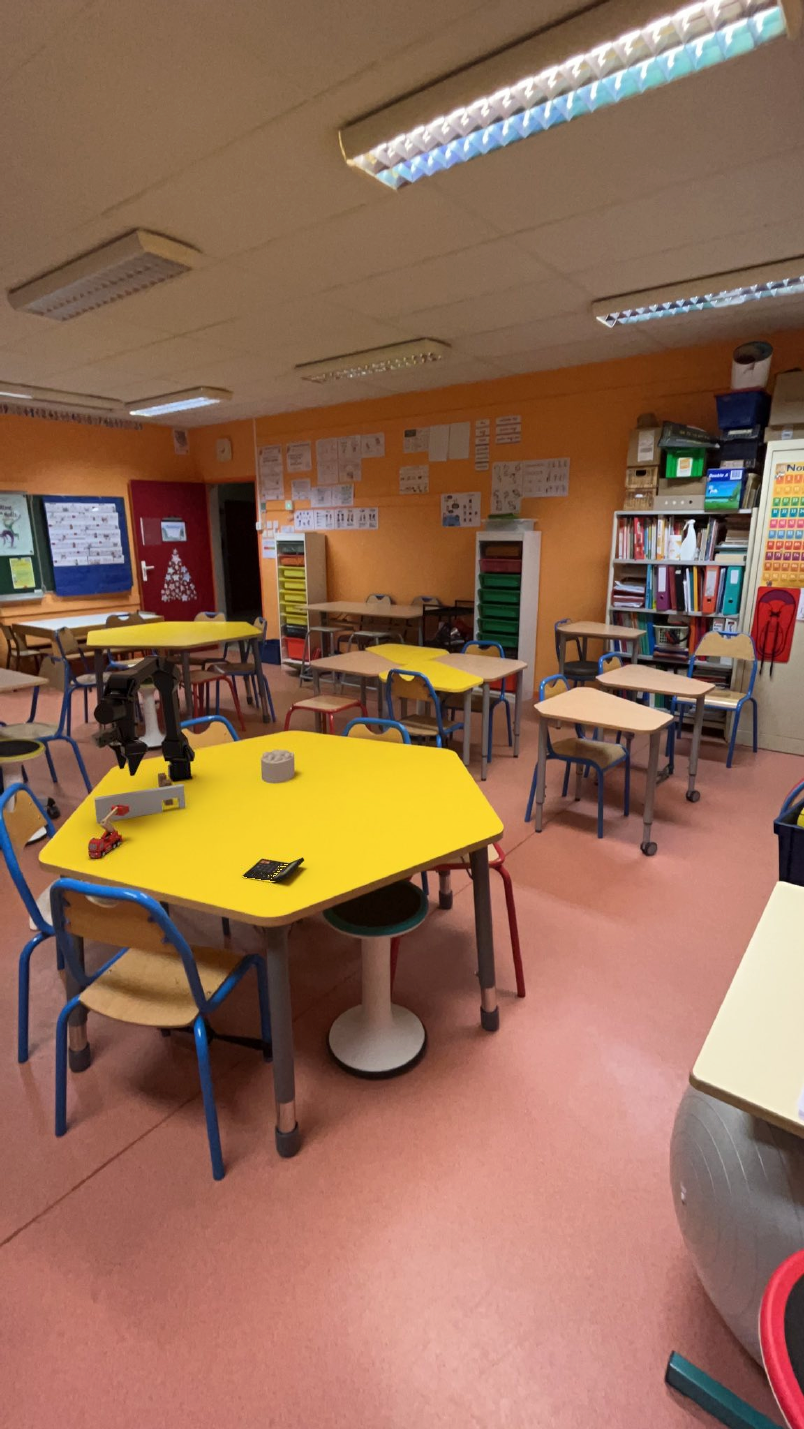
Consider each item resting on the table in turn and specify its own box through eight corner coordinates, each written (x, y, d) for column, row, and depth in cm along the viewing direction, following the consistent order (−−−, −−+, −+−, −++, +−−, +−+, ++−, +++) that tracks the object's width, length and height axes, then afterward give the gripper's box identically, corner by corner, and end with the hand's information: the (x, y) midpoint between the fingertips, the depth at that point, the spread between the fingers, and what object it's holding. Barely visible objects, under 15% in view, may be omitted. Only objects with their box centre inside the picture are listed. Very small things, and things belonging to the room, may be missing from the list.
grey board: (183, 805, 196) (182, 783, 194) (185, 808, 194) (183, 786, 192) (96, 820, 184) (94, 797, 182) (97, 823, 182) (95, 799, 180)
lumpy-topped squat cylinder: (297, 771, 229) (296, 748, 226) (286, 784, 216) (286, 759, 214) (268, 770, 230) (267, 746, 228) (256, 782, 217) (255, 757, 215)
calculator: (261, 861, 162) (261, 850, 162) (304, 868, 159) (304, 857, 158) (242, 878, 154) (242, 867, 153) (287, 886, 150) (287, 874, 150)
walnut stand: (159, 794, 204) (157, 773, 203) (165, 793, 205) (164, 772, 204) (166, 805, 196) (164, 783, 194) (173, 804, 197) (171, 782, 195)
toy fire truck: (87, 858, 161) (83, 822, 159) (120, 836, 174) (117, 802, 172) (99, 860, 161) (95, 823, 158) (132, 837, 174) (129, 803, 171)
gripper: (84, 716, 184) (87, 769, 187) (104, 726, 170) (107, 784, 173) (125, 712, 192) (127, 764, 194) (147, 722, 178) (149, 777, 180)
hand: (127, 772), depth 185 cm, fingers open, 9 cm apart
